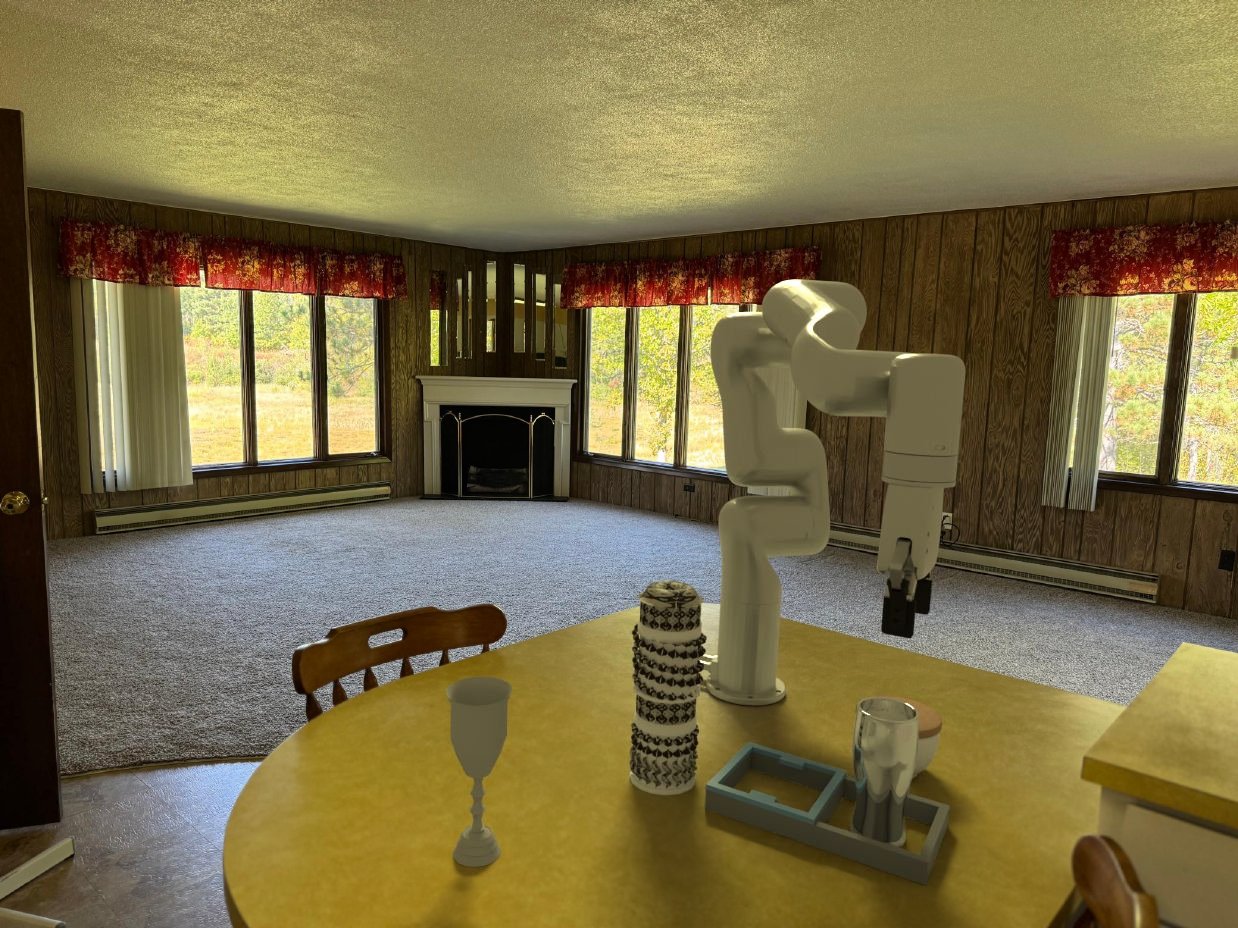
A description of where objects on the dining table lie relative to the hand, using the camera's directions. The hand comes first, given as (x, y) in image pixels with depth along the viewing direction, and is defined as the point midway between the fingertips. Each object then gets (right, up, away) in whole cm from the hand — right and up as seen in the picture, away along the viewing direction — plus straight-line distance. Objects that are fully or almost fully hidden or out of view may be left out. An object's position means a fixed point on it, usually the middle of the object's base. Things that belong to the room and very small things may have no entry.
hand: (906, 623), depth 90 cm
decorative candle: (-26, -22, +13) cm, 37 cm away
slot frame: (-7, -24, +6) cm, 26 cm away
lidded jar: (+5, -23, +18) cm, 30 cm away
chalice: (-47, -24, -3) cm, 53 cm away
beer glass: (-2, -25, +3) cm, 25 cm away
